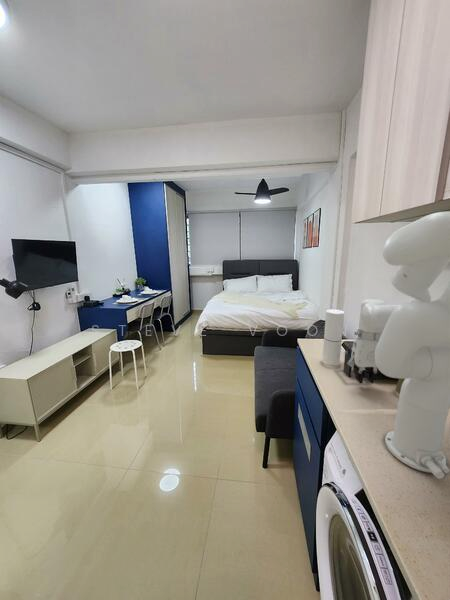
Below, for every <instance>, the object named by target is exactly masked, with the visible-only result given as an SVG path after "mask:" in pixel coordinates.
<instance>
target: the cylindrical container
mask: <svg viewBox="0 0 450 600" xmlns="http://www.w3.org/2000/svg"><path fill="white" fill-rule="evenodd" d="M324 321H325V322H324V334H323V345H322V346H323V347H322V359H321V361H322V363H323V364H325V365H328V366H332V367H333V366H339V365H340V361H341V352H342V351H341V350H342V342H343V340H342V339H343V332H344V322H345V311H344V310H341V309H337V308H336V309H335V308H330V309H326V310H325V320H324Z"/></svg>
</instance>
